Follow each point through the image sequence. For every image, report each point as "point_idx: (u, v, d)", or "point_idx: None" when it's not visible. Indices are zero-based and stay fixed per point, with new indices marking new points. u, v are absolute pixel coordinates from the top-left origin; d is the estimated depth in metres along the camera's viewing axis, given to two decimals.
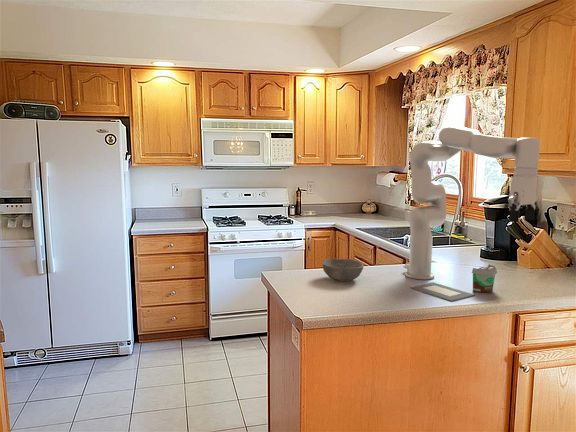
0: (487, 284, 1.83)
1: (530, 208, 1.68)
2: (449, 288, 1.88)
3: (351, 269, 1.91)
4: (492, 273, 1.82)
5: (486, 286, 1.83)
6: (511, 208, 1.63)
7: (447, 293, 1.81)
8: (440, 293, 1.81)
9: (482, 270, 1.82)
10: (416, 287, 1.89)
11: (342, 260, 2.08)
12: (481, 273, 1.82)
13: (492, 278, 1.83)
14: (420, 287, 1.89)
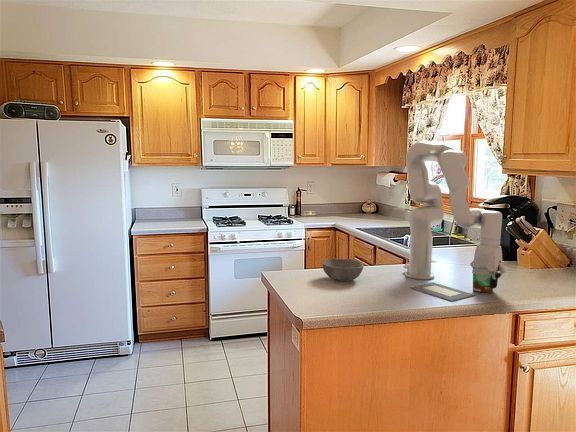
0: (487, 284, 1.83)
1: None
2: (449, 288, 1.88)
3: (351, 269, 1.91)
4: None
5: (486, 286, 1.83)
6: (497, 277, 1.81)
7: (447, 293, 1.81)
8: (440, 293, 1.81)
9: (482, 270, 1.82)
10: (416, 287, 1.89)
11: (342, 260, 2.08)
12: (481, 273, 1.81)
13: (492, 278, 1.83)
14: (420, 287, 1.89)
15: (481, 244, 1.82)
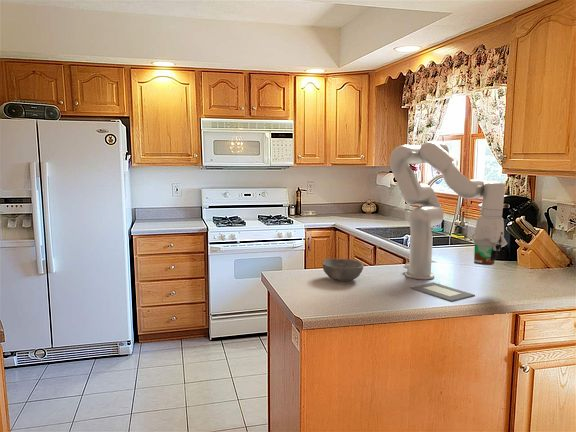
0: (489, 255, 1.81)
1: None
2: (449, 288, 1.88)
3: (351, 269, 1.91)
4: None
5: (488, 258, 1.81)
6: (498, 249, 1.80)
7: (447, 293, 1.81)
8: (440, 293, 1.81)
9: (484, 241, 1.80)
10: (416, 287, 1.89)
11: (342, 260, 2.08)
12: (483, 244, 1.80)
13: None
14: (420, 287, 1.89)
15: (483, 215, 1.81)
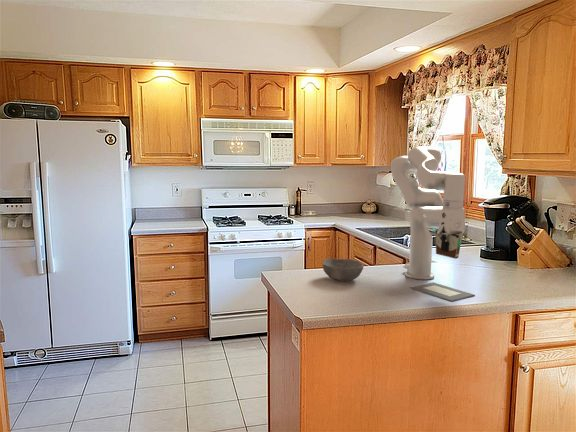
0: None
1: None
2: (449, 288, 1.88)
3: (351, 269, 1.91)
4: None
5: None
6: None
7: (447, 293, 1.81)
8: (440, 293, 1.81)
9: (462, 233, 1.78)
10: (416, 287, 1.89)
11: (342, 260, 2.08)
12: None
13: None
14: (420, 287, 1.89)
15: (458, 208, 1.77)
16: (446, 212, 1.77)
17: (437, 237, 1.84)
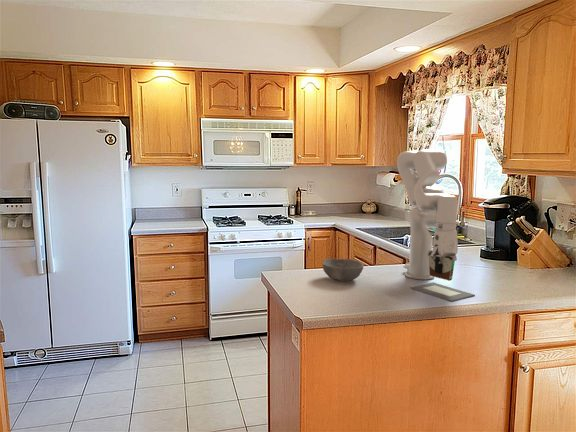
0: None
1: None
2: (449, 288, 1.88)
3: (351, 269, 1.91)
4: None
5: None
6: None
7: (447, 293, 1.81)
8: (440, 293, 1.81)
9: (455, 255, 1.79)
10: (416, 287, 1.89)
11: (342, 260, 2.08)
12: (456, 258, 1.79)
13: None
14: (420, 287, 1.89)
15: (451, 230, 1.78)
16: (439, 234, 1.78)
17: (430, 259, 1.85)
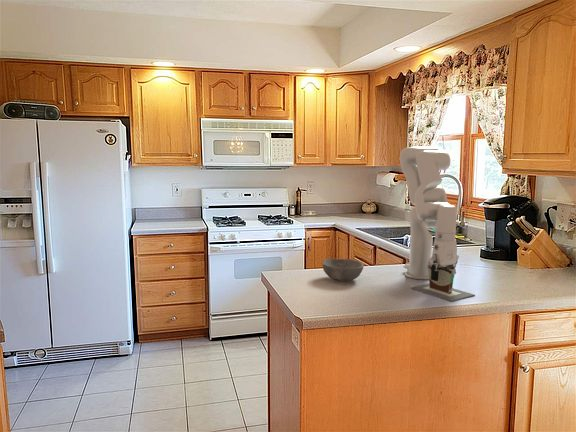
0: None
1: None
2: None
3: (351, 269, 1.91)
4: None
5: None
6: None
7: None
8: (440, 293, 1.81)
9: None
10: (416, 287, 1.89)
11: (342, 260, 2.08)
12: (455, 271, 1.81)
13: None
14: (420, 287, 1.89)
15: (450, 240, 1.78)
16: (439, 244, 1.79)
17: (430, 272, 1.87)
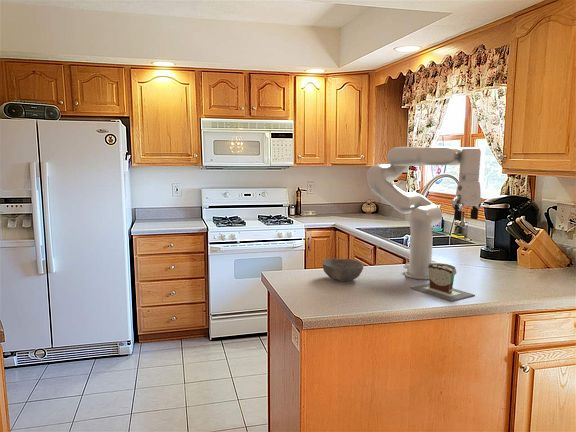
0: None
1: None
2: None
3: (351, 269, 1.91)
4: None
5: None
6: None
7: None
8: (440, 293, 1.81)
9: None
10: (416, 287, 1.89)
11: (342, 260, 2.08)
12: None
13: None
14: (420, 287, 1.89)
15: (474, 180, 1.85)
16: (462, 185, 1.86)
17: (430, 272, 1.87)
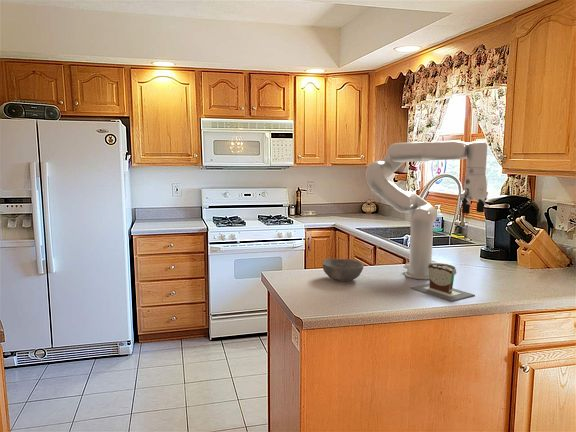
0: None
1: None
2: None
3: (351, 269, 1.91)
4: None
5: None
6: None
7: None
8: (440, 293, 1.81)
9: None
10: (416, 287, 1.89)
11: (342, 260, 2.08)
12: None
13: None
14: (420, 287, 1.89)
15: (481, 174, 1.89)
16: (470, 178, 1.89)
17: (430, 272, 1.87)
